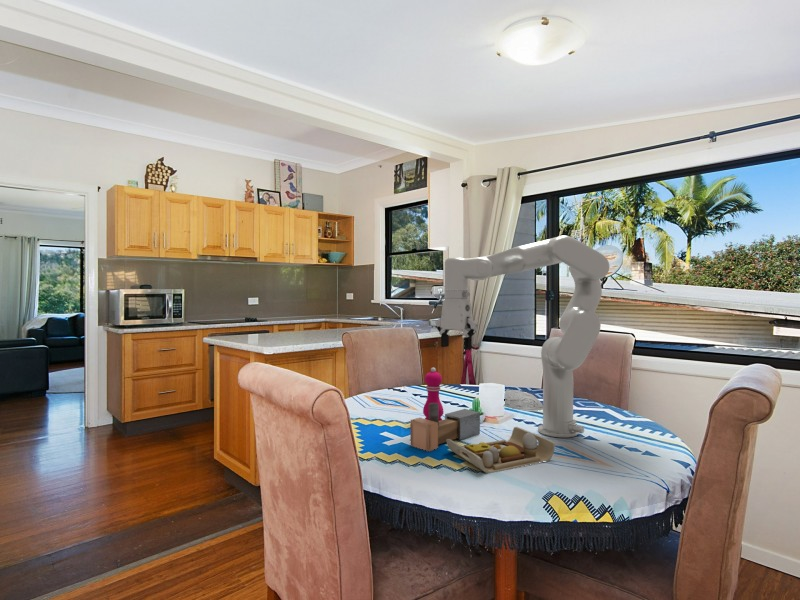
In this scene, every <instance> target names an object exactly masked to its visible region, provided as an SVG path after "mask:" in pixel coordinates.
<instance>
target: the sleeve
mask: <svg viewBox="0 0 800 600" xmlns="http://www.w3.org/2000/svg"><path fill="white" fill-rule="evenodd" d="M448 418H455V419H458V438H457V440H458V441H463V440H465V439H467V438H471V437H474V436H477V435H480V434H481V413H480V411H475V410H470V409H467V408H463V409H459V410H455V411H452V412H447V413H445V414H444V419H448Z"/></svg>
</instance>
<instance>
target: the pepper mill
mask: <svg viewBox="0 0 800 600" xmlns="http://www.w3.org/2000/svg"><path fill="white" fill-rule="evenodd" d="M442 380H443V378H442V375H441V373H439V372H438V371H437V369H436V367H431V368H430V371H429V372H427V373H426V374H425V376H424V382H425V384H426V388H425V389H426V391H427V398H426V401H425V403H424V406H423V409H422V410H423V411H422V414H423V416H425V417H424V419H427V420H429V403H438V404H439V421H441V420H443V418H442V417H443V415H444V413H445V412H444V407H443V405H442V404H443V403H442V402H441V399H440V391H441V383H442Z"/></svg>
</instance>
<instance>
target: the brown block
mask: <svg viewBox="0 0 800 600" xmlns="http://www.w3.org/2000/svg"><path fill="white" fill-rule="evenodd" d="M411 445H412V446H411ZM410 446H411V447H414V448H416V447H417V449H419V448H420V450H422V449H423V450H422V451H425V450H426V451H425V452H428V451H429V452H432V451H435V450H438V449H439V444H438V423H437V422H434V421H430V420H427V419H425V418H422V417H417V418H413V419H410ZM437 448H438V449H437ZM434 449H435V450H434Z"/></svg>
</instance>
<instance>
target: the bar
mask: <svg viewBox="0 0 800 600" xmlns="http://www.w3.org/2000/svg"><path fill="white" fill-rule="evenodd" d="M429 420H430V421H434V422H437V423H438V445H441V444H444V443H447V441H446V439H450V440H452V441H454V440H456V439H457V440H458V419H455V418H448V419H445V418H444V419H442V420H441V421H439V404H438V403H429Z"/></svg>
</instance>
